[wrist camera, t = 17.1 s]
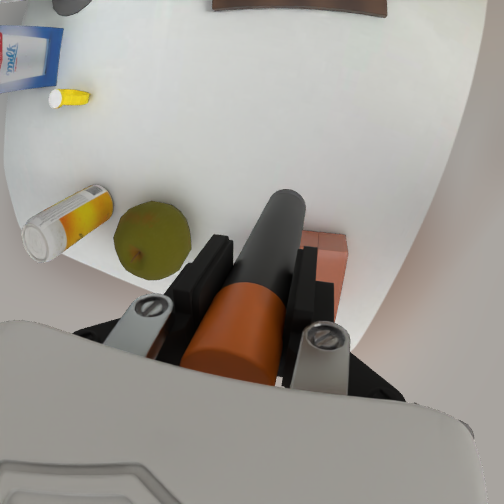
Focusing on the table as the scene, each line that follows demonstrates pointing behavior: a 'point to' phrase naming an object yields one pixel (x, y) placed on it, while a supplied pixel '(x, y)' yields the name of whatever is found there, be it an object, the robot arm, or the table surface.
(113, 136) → the table surface
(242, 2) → the brown flat wooden board
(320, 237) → the holder
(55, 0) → the cup
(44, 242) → the beer can
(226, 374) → the marker
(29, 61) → the milk carton
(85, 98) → the watch
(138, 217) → the apple
